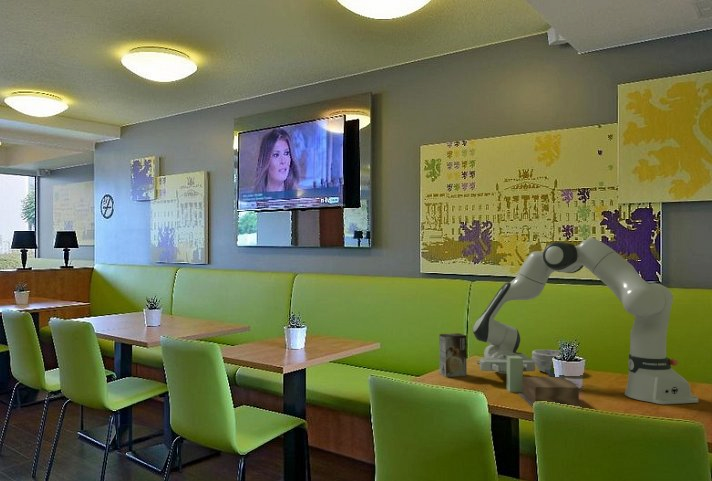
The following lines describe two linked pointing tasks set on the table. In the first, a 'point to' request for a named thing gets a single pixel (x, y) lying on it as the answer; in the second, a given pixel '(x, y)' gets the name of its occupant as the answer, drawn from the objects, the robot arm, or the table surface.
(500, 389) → the table surface
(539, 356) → the paper bowls
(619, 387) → the table surface
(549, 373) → the geometric puzzle
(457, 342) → the coffee box
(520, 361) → the pillar
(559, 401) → the base
